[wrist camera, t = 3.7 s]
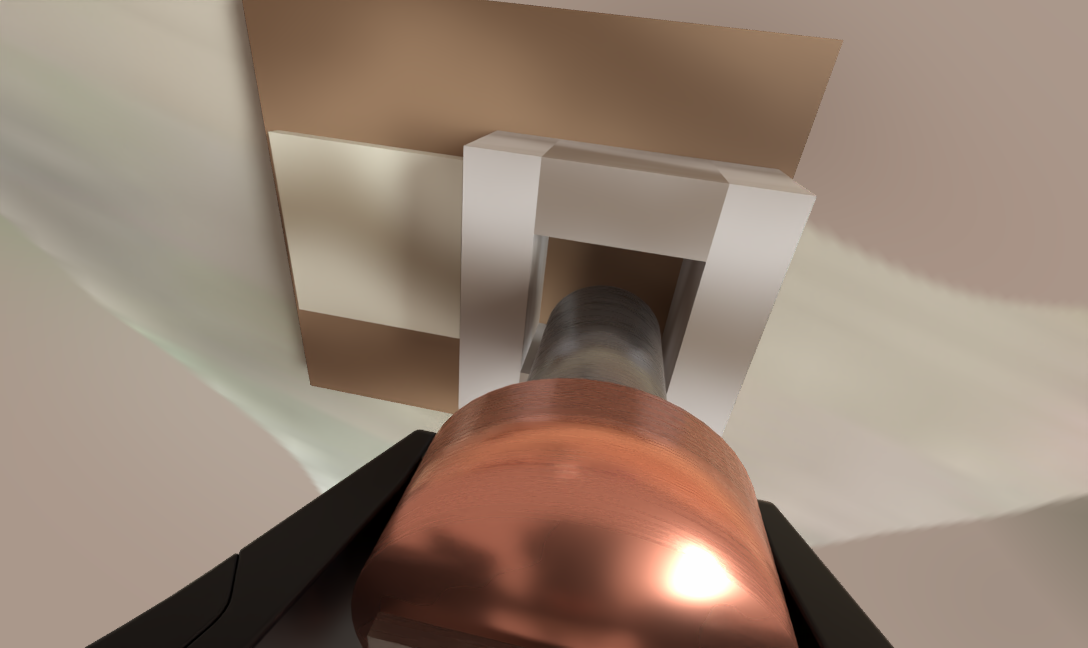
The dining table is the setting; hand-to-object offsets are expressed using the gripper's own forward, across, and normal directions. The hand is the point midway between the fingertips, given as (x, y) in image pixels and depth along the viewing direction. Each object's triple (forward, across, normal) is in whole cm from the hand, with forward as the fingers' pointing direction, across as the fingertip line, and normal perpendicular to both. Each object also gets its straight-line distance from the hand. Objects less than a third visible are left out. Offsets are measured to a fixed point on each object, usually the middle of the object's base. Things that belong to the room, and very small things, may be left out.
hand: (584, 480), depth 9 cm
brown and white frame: (+11, +4, 0) cm, 12 cm away
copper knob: (+5, 0, 0) cm, 5 cm away
